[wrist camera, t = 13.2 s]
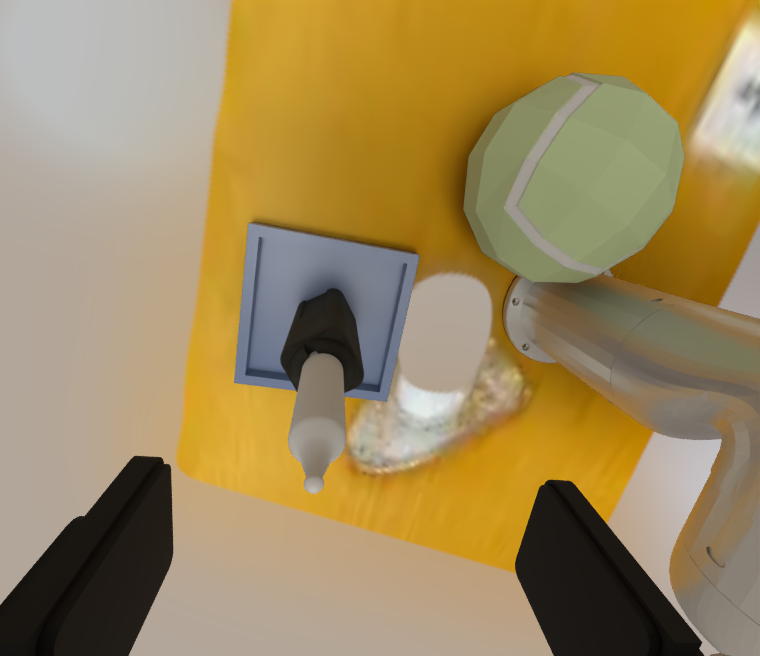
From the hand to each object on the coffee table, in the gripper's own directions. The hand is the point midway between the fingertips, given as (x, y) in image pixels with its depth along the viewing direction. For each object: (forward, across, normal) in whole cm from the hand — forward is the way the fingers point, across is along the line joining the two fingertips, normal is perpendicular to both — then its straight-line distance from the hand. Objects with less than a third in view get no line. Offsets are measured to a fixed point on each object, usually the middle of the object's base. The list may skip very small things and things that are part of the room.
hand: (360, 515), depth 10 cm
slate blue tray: (+31, +2, +4) cm, 32 cm away
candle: (+31, +2, +4) cm, 31 cm away
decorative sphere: (+32, -16, -11) cm, 37 cm away
